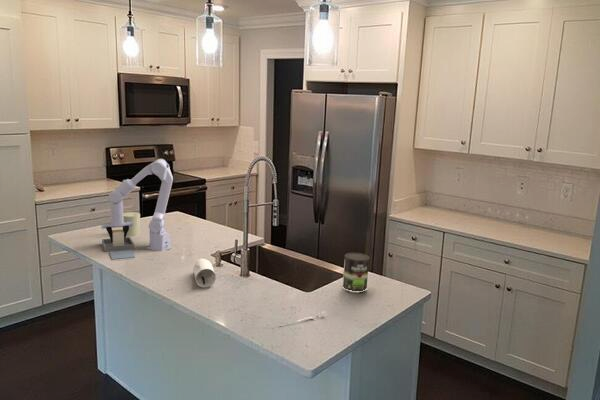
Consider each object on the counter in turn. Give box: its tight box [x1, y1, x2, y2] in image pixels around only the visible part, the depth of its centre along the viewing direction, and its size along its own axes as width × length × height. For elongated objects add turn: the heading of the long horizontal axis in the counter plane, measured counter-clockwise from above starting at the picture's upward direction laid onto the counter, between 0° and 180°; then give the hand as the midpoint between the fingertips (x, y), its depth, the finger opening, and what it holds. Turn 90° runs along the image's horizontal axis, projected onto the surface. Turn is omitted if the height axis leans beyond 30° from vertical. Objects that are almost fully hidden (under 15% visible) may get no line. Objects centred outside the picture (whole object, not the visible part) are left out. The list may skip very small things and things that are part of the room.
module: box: [112, 229, 124, 246], centre depth 232 cm, size 5×5×7 cm
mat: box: [108, 250, 136, 262], centre depth 221 cm, size 10×10×1 cm
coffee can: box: [342, 252, 370, 291], centre depth 197 cm, size 10×10×14 cm
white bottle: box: [193, 257, 217, 288], centre depth 199 cm, size 8×19×8 cm, turn 17°
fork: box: [297, 310, 329, 321], centre depth 167 cm, size 3×20×2 cm, turn 121°
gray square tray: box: [101, 236, 136, 253], centre depth 233 cm, size 13×13×3 cm
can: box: [123, 211, 141, 237], centre depth 253 cm, size 9×9×12 cm
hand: (118, 241), depth 233 cm, fingers closed on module, 5 cm apart
